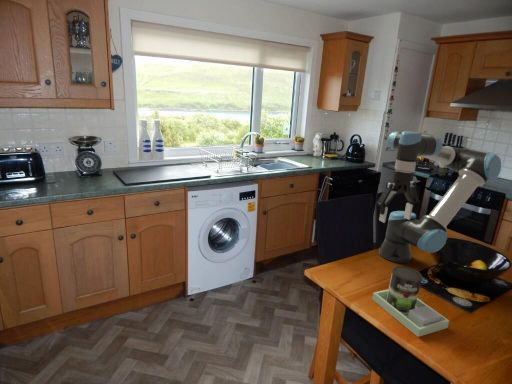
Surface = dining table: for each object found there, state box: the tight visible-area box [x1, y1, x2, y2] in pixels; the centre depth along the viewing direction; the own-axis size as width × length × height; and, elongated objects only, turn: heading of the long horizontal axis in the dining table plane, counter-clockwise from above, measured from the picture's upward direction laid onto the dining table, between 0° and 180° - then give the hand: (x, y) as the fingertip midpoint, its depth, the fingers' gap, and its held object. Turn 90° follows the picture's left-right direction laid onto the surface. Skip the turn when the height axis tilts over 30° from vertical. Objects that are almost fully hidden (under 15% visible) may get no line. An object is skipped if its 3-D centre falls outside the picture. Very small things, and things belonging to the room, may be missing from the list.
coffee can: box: [386, 265, 423, 314], centre depth 126 cm, size 10×10×14 cm
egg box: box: [408, 306, 440, 328], centre depth 118 cm, size 8×6×4 cm
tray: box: [371, 288, 450, 338], centre depth 124 cm, size 14×22×4 cm, turn 23°
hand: (394, 220), depth 142 cm, fingers open, 13 cm apart
